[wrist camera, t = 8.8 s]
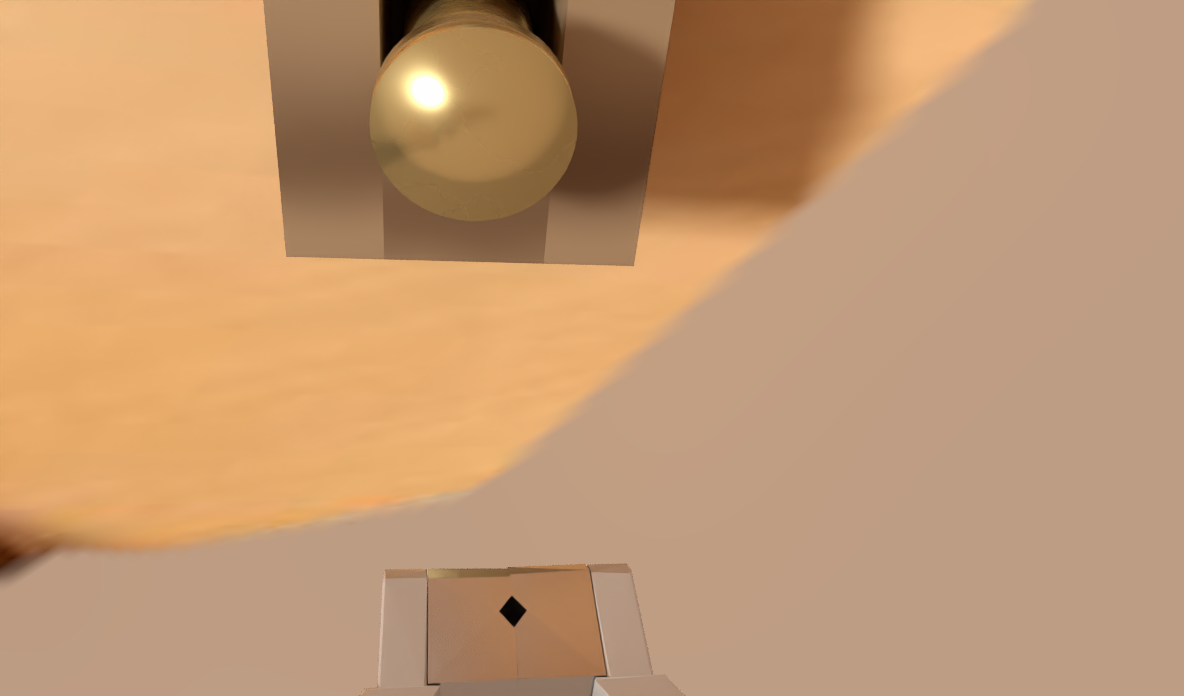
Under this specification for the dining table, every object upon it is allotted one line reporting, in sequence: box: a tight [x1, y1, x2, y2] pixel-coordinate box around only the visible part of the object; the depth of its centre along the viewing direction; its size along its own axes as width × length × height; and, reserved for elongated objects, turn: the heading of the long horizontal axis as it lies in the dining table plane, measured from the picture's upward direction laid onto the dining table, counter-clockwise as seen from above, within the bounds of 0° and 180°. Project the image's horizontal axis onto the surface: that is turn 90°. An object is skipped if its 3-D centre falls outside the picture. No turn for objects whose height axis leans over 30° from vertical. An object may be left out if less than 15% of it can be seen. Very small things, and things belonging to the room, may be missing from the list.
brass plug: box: [369, 0, 578, 221], centre depth 27 cm, size 5×5×10 cm
